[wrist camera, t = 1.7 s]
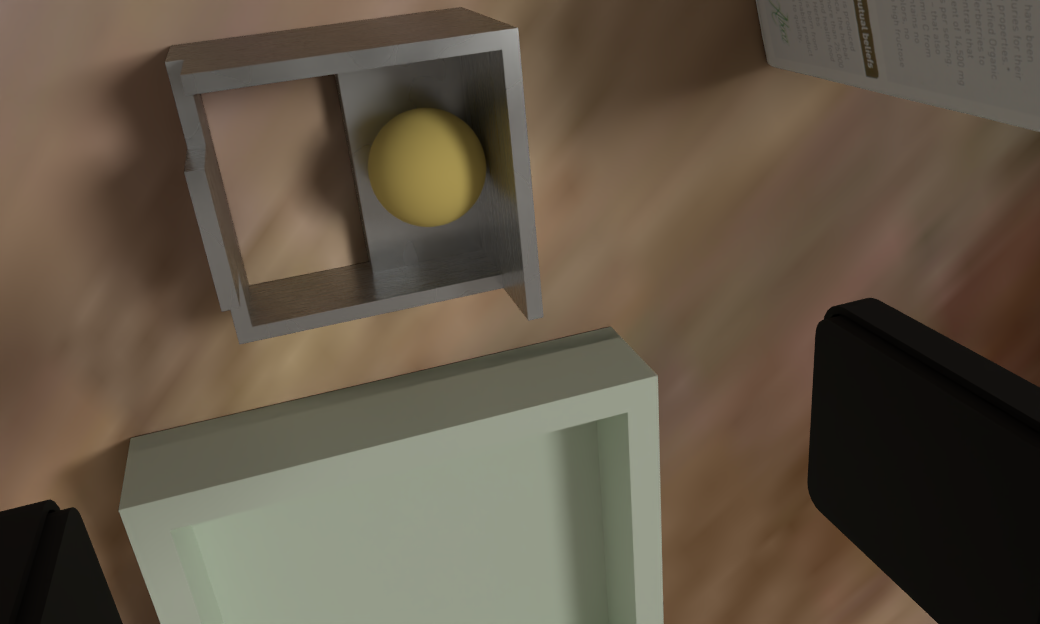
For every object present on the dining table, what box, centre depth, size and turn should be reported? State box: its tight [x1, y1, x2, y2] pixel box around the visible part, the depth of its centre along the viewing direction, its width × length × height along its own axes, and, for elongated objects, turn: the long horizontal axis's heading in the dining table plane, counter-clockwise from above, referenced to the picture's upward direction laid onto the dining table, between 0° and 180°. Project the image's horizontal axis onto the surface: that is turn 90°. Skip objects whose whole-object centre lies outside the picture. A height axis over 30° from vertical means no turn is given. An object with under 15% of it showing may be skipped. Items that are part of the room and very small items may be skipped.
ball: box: [368, 108, 486, 227], centre depth 22 cm, size 3×3×3 cm
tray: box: [119, 327, 663, 624], centre depth 28 cm, size 14×15×4 cm
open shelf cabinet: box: [165, 7, 543, 344], centre depth 21 cm, size 7×7×5 cm
